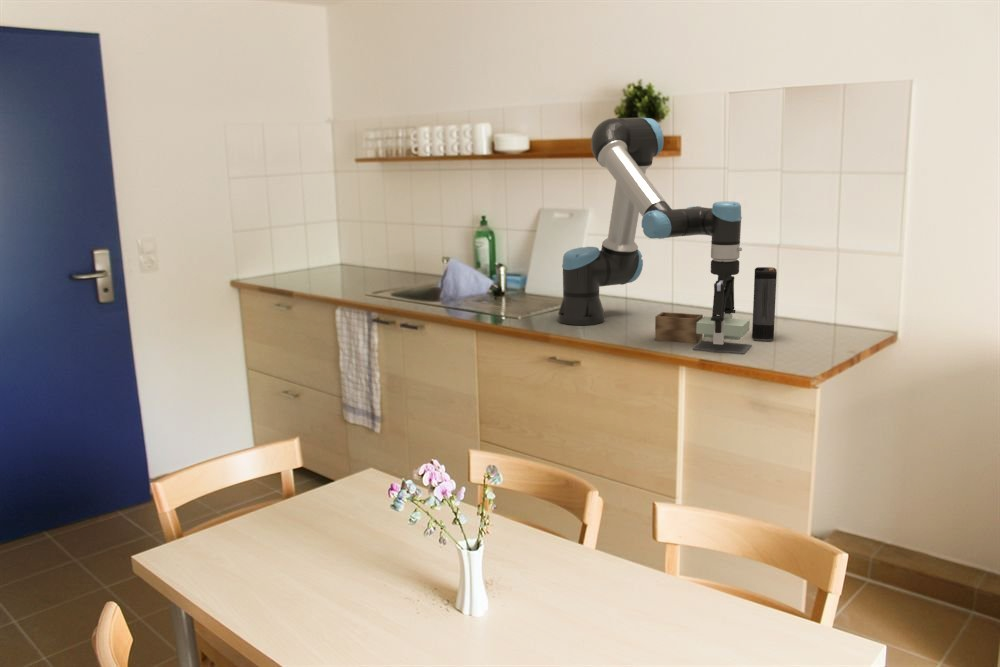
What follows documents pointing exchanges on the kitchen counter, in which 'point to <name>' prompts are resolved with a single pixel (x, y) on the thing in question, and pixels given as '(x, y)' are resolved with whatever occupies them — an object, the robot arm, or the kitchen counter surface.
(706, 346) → the mat
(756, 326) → the electronic device
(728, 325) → the block
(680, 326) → the crate
